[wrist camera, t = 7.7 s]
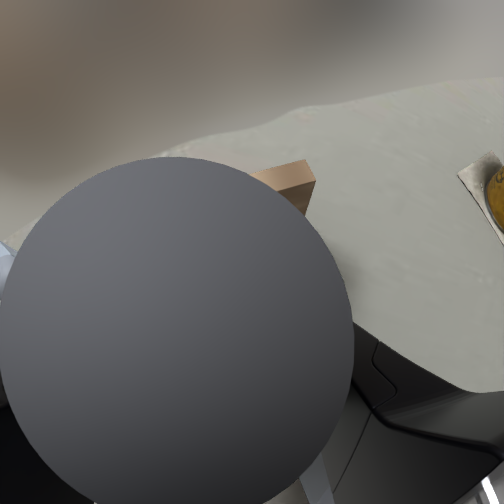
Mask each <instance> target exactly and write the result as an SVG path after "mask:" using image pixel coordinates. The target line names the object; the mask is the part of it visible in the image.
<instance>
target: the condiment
mask: <svg viewBox="0 0 504 504" xmlns="http://www.w3.org/2000/svg"><path fill="white" fill-rule="evenodd" d="M457 175H458V176H459V178H460V179H461V180H462V181H463V182H464V184H465V185H466V187H467V188H468V190H469V191H470V192H471V193H472V195H473V197H474V198H475V200H476V201H477V202H478V203H479V205H480V207H481V208H482V210H483V212H484V213H485V215H486V217H487V219H488V220H489V222H490V224H491V225H492V227H493V228H494V230H495V232H496V233H497V235H498V237H499V238H500V240H501V242H502V243H503V245H504V166H503V165H502V164H501V162H500V160H499V159H498V157H497V156H496V155H495V154H494V152H493V151H492V150H491V151H490V152H489V153H487V154H486V155H484V156H483V157H481V158H480V159H479V160H477V161H475V162H474V163H473V164H471V165H469V166H468V167H466V168H465V169H463V170H462V171H460V172H459V173H457ZM481 183H482V187H481ZM482 188H483V191H482Z"/></svg>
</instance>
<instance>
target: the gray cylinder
mask: <svg viewBox="0 0 504 504" xmlns="http://www.w3.org/2000/svg"><path fill="white" fill-rule="evenodd" d="M353 365H354V329H353V321H352V313H351V307H350V303H349V299H348V296H347V292H346V288H345V285H344V281H343V279H342V277H341V274H340V272H339V270H338V267H337V265H336V263H335V260H334V258H333V256H332V255H331V253H330V251H329V250H328V248H327V246H326V245H325V243H324V241H323V240H322V238H321V236H320V235H319V234H318V232H317V231H316V230H315V229H314V227H313V226H312V225H311V224H310V222H309V221H308V220H307V219H306V217H305V216H304V215H303V214H302V213H301V212H300V211H299V210H298V209H297V208H296V207H295V206H294V205H292V204H291V203H290V202H289V201H288V200H287V199H286V198H285V197H283V196H282V195H281V194H279V193H278V192H277V191H275V190H274V189H272V188H271V187H270V186H268V185H267V184H265V183H263V182H262V181H260V180H258V179H256V178H254V177H252V176H250V175H249V174H247V173H245V172H242V171H239V170H237V169H234V168H232V167H229V166H226V165H223V164H219V163H215V162H211V161H207V160H202V159H194V158H184V157H159V158H151V159H144V160H138V161H134V162H130V163H127V164H123V165H119V166H116V167H114V168H111V169H109V170H106V171H104V172H102V173H99V174H97V175H95V176H94V177H92V178H90V179H88V180H86V181H84V182H83V183H81V184H79V185H78V186H77V187H75V188H74V189H72V190H71V191H69V192H68V193H67V194H65V195H64V196H63V197H62V198H61V199H60V200H59V201H57V202H56V203H55V204H54V205H53V206H52V207H51V208H50V209H49V210H48V211H47V212H46V213H45V214H44V215H43V216H42V218H41V219H40V220H39V221H38V222H37V223H36V225H35V226H34V227H33V229H32V230H31V232H30V233H29V235H28V236H27V237H26V239H25V240H24V242H23V244H22V246H21V248H20V249H19V251H18V253H17V255H16V257H15V259H14V261H13V264H12V266H11V269H10V271H9V274H8V276H7V279H6V283H5V286H4V290H3V294H2V297H1V303H0V371H1V376H2V381H3V385H4V388H5V392H6V395H7V398H8V401H9V404H10V406H11V409H12V411H13V413H14V415H15V418H16V420H17V422H18V424H19V426H20V428H21V429H22V431H23V433H24V434H25V436H26V438H27V439H28V441H29V442H30V444H31V445H32V447H33V448H34V449H35V451H36V452H37V453H38V455H39V456H40V457H41V458H42V460H43V461H44V462H45V463H46V464H47V465H48V466H49V467H50V468H51V469H52V470H53V471H54V472H55V473H56V474H57V475H58V476H59V477H60V478H61V479H62V480H63V481H65V482H66V483H67V484H68V485H70V486H71V487H72V488H74V489H75V490H76V491H78V492H79V493H80V494H82V495H84V496H85V497H87V498H89V499H90V500H92V501H94V502H96V503H97V504H263V503H265V502H267V501H269V500H270V499H272V498H273V497H275V496H276V495H278V494H279V493H280V492H282V491H283V490H284V489H286V488H287V487H289V486H290V485H291V484H292V483H294V482H295V481H296V480H297V479H298V478H299V477H300V476H301V475H302V474H303V473H304V472H305V471H306V470H307V469H308V468H309V467H310V466H311V464H312V463H313V462H314V460H315V459H316V458H317V456H318V455H319V454H320V452H321V451H322V450H323V448H324V447H325V445H326V444H327V442H328V441H329V439H330V437H331V435H332V433H333V431H334V429H335V427H336V425H337V423H338V421H339V419H340V417H341V414H342V411H343V408H344V405H345V402H346V399H347V396H348V393H349V389H350V383H351V377H352V371H353Z"/></svg>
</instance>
